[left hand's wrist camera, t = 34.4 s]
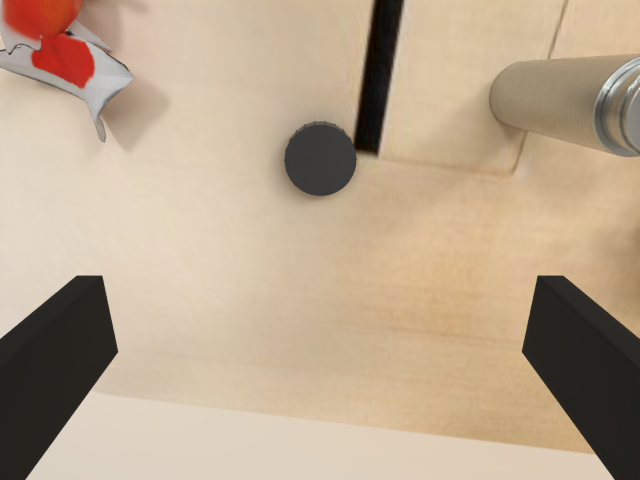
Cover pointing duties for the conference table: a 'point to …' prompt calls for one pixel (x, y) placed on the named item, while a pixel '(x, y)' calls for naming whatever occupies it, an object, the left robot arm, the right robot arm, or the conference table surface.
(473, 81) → the conference table surface
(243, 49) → the conference table surface
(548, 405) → the conference table surface
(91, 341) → the left robot arm
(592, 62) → the jar
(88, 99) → the fish
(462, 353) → the conference table surface
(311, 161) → the lid
